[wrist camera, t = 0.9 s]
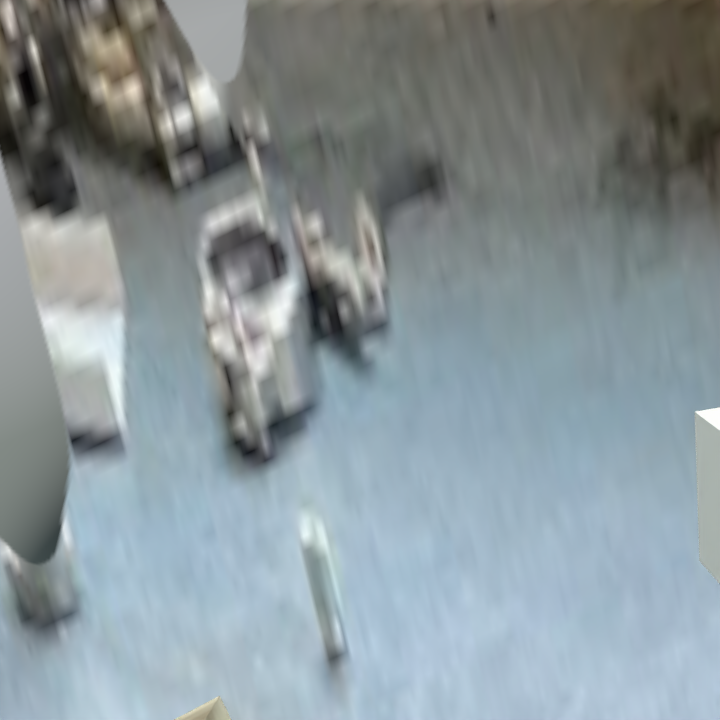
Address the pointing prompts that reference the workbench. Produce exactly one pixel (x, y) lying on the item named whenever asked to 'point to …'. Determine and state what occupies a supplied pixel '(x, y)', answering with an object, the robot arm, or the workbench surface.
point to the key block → (208, 711)
